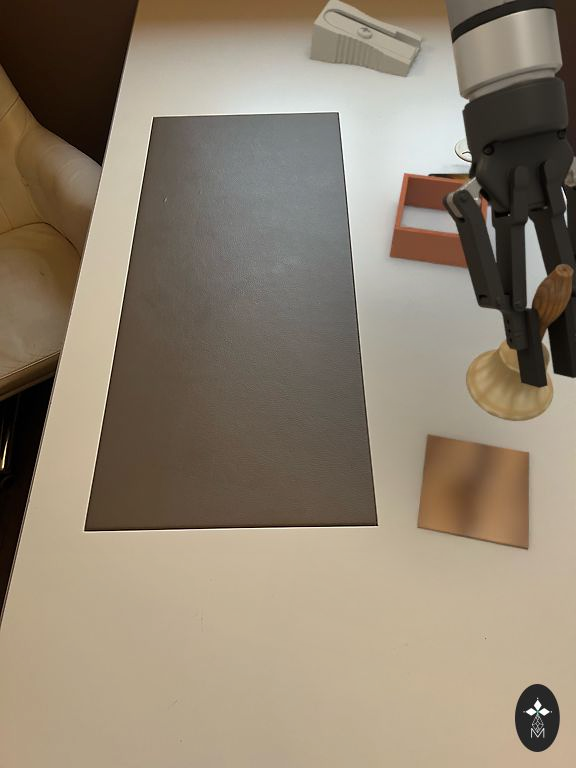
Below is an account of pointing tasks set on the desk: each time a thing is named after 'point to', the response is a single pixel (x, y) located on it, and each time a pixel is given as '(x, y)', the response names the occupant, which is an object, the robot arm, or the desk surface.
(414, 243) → the open box
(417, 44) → the wedge sharpener
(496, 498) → the copper plate
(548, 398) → the hand bell
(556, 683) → the desk surface
